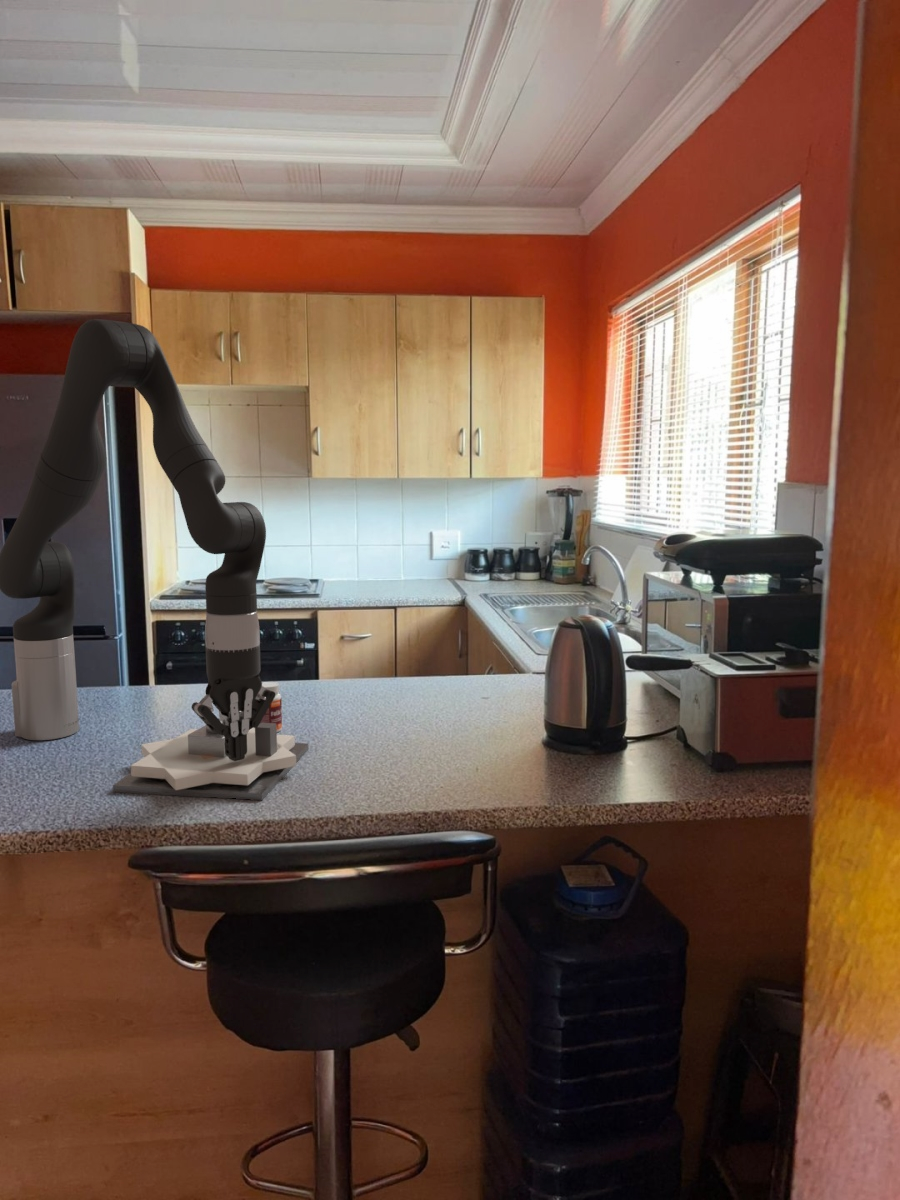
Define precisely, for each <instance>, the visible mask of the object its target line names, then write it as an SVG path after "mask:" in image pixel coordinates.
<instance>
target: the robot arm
mask: <svg viewBox="0 0 900 1200" xmlns="http://www.w3.org/2000/svg"><path fill="white" fill-rule="evenodd" d="M68 355H69V356H68V358H67V362H66V363H67V364H66V368H65V371H64V372H65V373H64V377H63V382H62V386H61V391H60V395H59V399H58V403H57V405H56V409H55V412H54V416H53V419H52V422H51V426H50V428H49V430H48V434H47V437H46V439H45V442H44V444H43V447H42V449H41V452H40V454H39V457H38V460H37V463H36V466H35V469H34V472H33V475H32V479H31V483H30V485H29V488H28V491H27V494H26V496H25V499H24V502H23V504H22V506H21V509H20V511H19V514H18V516H17V518H16V520H15V522H14V524H13V526H12V528H11V530H10V532H9V533H8V536H7V538H6V539H5V542H4V544H3V546H2V548H1V550H0V591H1V593H2V594H3V595H5V596H7V597H8V598H12V599H20V600H22V599H23V600H24V599H25V600H26V599H33V598H40V599H39V601H38V603H37V605H36V606H35V608H33V609H32V610H31V611H30V612H28V613H26V614H25V615H23V616H21V617H20V618H19V617H18V618H17V619H16V620H15V621H14V622H13V625H12V635H13V646H14V659H15V673H16V676H15V677H16V680H14V681H12V682H11V694H12V695H11V696H12V709H13V710H12V711H13V722H14V735H15V737H20V738H23V739H25V740H29V741H49V740H50V741H51V740H55V739H61V738H65V737H68V736H72V735H74V734H76V733H78V731H79V730H80V723H79V722H80V721H79V720H80V718H79V706H78V705H79V704H78V689H77V688H78V687H77V672H76V657H75V656H76V655H75V644H74V623H75V620H76V619H75V618H76V572H75V571H76V570H75V562H74V557H73V555H72V552H71V551H70V550H69V548H68V547H67V545H66V544H64V543H62V542H59V541H50V540H51V538H53V536H54V535H55V534H56V533H57V532H58V531H59V530H60V529H62V527H64V526H65V525H66V524H67V523H68V522H70V521H71V520H73V518H75V517H76V516H77V515H78V514H79V513H80V512H82V511H83V510H84V508H86V506H87V505H88V504H89V503H90V502H91V501H92V500H93V498H94V496H95V494H96V492H97V490H98V487H99V485H100V482H101V480H102V477H103V475H104V472H105V470H106V465H107V454H106V453H107V452H106V449H105V444H104V441H103V438H102V434H101V432H100V429H99V425H98V414H99V413H98V412H99V410H100V406H101V403H102V400H103V397H104V394H106V391H107V389H109V387H117V388H122V387H123V388H134V389H136V391H137V392H139V394H140V395H141V396H142V398H144V400H145V402H146V403H147V405H148V406H149V409H150V411H151V413H152V426H153V427H152V445H153V449H154V453H155V456H156V459H157V461H158V463H159V465H160V467H161V469H162V470H163V472H164V473H165V475H166V477H167V478H168V479H169V482H170V483H171V485H172V486H173V488H174V489H175V491H176V492H177V494H178V498H179V500H180V501H179V502H180V505H181V509H182V512H183V513H182V514H183V516H184V519H185V523H186V527H187V530H188V532H189V535H190V537H191V538H192V539H193V542H194V543H195V544H196V545H197V546H198V547H199V548H200V549H201V550H203V551H205V552H206V553H209V554H211V555H222V554H224V555H223V559H222V564H221V565H220V567H218V568H216V569H214V570H213V571H211V572H210V573H209V574H208V575H207V576H206V579H205V587H204V588H205V589H204V590H205V610H206V613H205V614H206V615H205V616H206V617H205V624H204V625H205V626H204V633H205V634H204V635H205V636H204V638H205V639H204V643H205V660H206V662H205V663H206V676H207V679H208V680H207V681H208V683H207V685H206V688H205V695H204V696H203V697H202V699H201V700H200V701H199V702H198V701H197V702H196V701H195V702H193V703H192V704H191V710H192V711H193V712H194V713H195V714H196V716H198V718H200V719H201V721H202V722H203V723H204V724H205V725H207V726H208V727H209V728H210V729H211V730H212V731H213V732H215V733H218V734H220V735H224V737H225V754H226V756H228V757H229V759H231V760H233V761H238V760H242V759H244V758H245V754H246V753H247V733H248V732H249V730H250V729H252V728H257V727H258V726H259V724H260V722H261V720H262V719H263V717H264V715H265V713H266V712H267V710H268V708H269V706H270V705H271V703H272V701H273V699H274V698H275V692H273V691H271V690H268V689H266V688H265V687H263V686H262V682H263V681H262V679H261V677H260V673H261V669H262V668H261V647H260V646H261V642H260V641H261V638H260V622H259V615H258V598H257V597H258V596H257V593H258V592H257V591H258V590H257V581H258V577H259V572H260V569H261V564H262V560H263V555H264V550H265V545H266V538H267V528H266V523H265V520H264V517H263V514H262V512H261V510H260V509H258V507H256V506H255V505H254V504H252V503H249V502H246V501H245V502H244V501H235V502H234V501H233V502H222V501H221V499H220V498H219V497H218V494H219V493H221V492H222V490H223V489H224V487H225V485H226V477H225V476H226V475H225V473H224V471H223V468H222V467H221V465H220V464H219V463H218V460H217V459H216V457H215V456H214V454H213V452H212V451H211V450H210V448H209V447H208V445H207V443H206V442H205V440H204V439H203V437H202V436H201V434H200V432H199V430H198V429H197V427H196V425H195V423H194V421H193V419H192V418H191V415H190V413H189V410H188V409H187V406H186V404H185V401H184V399H183V396H182V394H181V393H182V392H181V391H180V389H179V387H178V384H177V381H176V379H175V378H174V375H173V372H172V370H171V368H170V365H169V363H168V360H167V358H166V356H165V354H164V352H163V349H162V347H161V345H160V343H159V342H158V340H157V339H156V337H155V335H154V334H153V333H152V332H151V330H149V329H148V328H147V327H145V326H144V325H140V324H136V323H134V322H132V323H131V322H128V321H127V322H126V321H119V320H113V319H102V318H95V319H94V318H93V319H88V320H87V321H85V322H83V324H81V325H80V327H79V328H78V329H77V331H76V333H75V335H74V337H73V340H72V343H71V346H70V350H69V354H68ZM214 706H215V708H216V709H217V711H218V717H219V718H220V719H221V721H222V722H221V721H220V720H219V719H218V717H217V716H216V715H215V714H214Z"/></svg>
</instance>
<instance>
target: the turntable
mask: <svg viewBox="0 0 900 1200" xmlns="http://www.w3.org/2000/svg"><path fill="white" fill-rule="evenodd" d="M198 729H199V728H191V729H189V730H188V731H187V730H186V732H184V733H182V734H181V735H179V736H177V737H176V738H171V739H165V740H159V741H158V740H157V741H153V742H148V743H142V744H141V745H140V747H141V754H142V756H143V757H142V758H141V759H139V760H138V761H136V762H135V763H132V764H130V773H131V776H136V777H148V778H161V779H166V781H167V782H168V783H169V784H170V785H171V786H172V787H173V788H174V789H175V790H180V789H185V788H189V787H194V786H199V785H204V784H209V783H223V784H236V785H249V784H250V783H251V782H252V781H254V780H255V779H256V778H257V777H258V776H260V775H261V774H262V773H263V772H268V771H273V770H278V769H283V768H288V767H292V766H293V767H296V766H297V763H296V755H295V754H293V753H292V752H290V751H289V750H290V749H291V748H292V747H293V746H295V743H296V739H295V737H296V736H295V735H291V734H290V735H289V734H287V735H286V734H277V733H278V732H277V729H276V723H260V724H259V726H258V727H257V728H252V729H250V730H249V732H248V733H247V753H246V754H245V758H244V759H242V760H238V761H233V760H231V759H229V757H228V756H226V757H225V758H222V757H212V756H202V755H193V754H189V752H188V734H190V733H192V732H194V731H196V730H198ZM293 767H292V768H293Z"/></svg>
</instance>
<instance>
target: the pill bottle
mask: <svg viewBox="0 0 900 1200" xmlns="http://www.w3.org/2000/svg"><path fill="white" fill-rule="evenodd" d="M262 686H263V687H265V688H266V689H268V690H271V691H273V692H275V698H274V699H273V701H272V703H271V705H270V706H269V708H268V710H267V712H266V713H265V715H264V717H263V719H262V720H261V722H260V723H276V729H277V733H280V732H281V731H282V730H283V720H282V719H283V716H282V715H283V714H282V713H283V711H282V705H283V704H282V701H283V700H282V696H281V694H280V693H279V692H280V683H278V682H276V681H265V682H264V681H262Z"/></svg>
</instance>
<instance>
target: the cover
mask: <svg viewBox="0 0 900 1200" xmlns="http://www.w3.org/2000/svg"><path fill="white" fill-rule="evenodd" d="M217 718H218V717H217ZM218 719H219V720H220V721H221V719H220V717H219V718H218ZM221 722H222V721H221ZM197 729H198V730H196V731H194V732H192V733H190V734H188V752H189V754H193V755H202V756H212V757H222V758H225V757H226V754H225V737H224V735H220V734H218V733H215V732H213V731H212V730H211V729H210V728H209V727H208V726H207V725H206V724H205V725H204V726H201V727H200V728H197Z"/></svg>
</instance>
